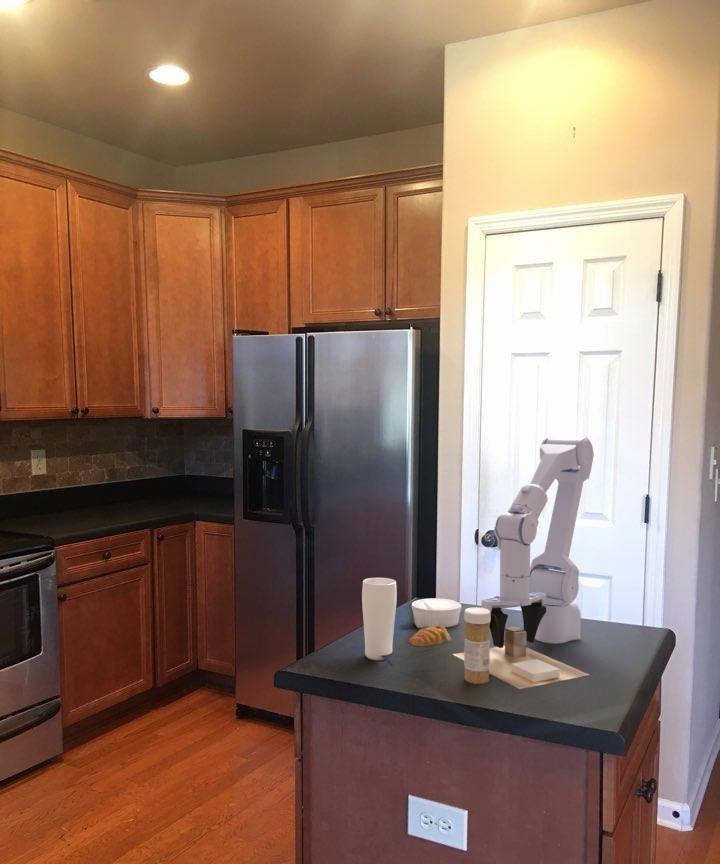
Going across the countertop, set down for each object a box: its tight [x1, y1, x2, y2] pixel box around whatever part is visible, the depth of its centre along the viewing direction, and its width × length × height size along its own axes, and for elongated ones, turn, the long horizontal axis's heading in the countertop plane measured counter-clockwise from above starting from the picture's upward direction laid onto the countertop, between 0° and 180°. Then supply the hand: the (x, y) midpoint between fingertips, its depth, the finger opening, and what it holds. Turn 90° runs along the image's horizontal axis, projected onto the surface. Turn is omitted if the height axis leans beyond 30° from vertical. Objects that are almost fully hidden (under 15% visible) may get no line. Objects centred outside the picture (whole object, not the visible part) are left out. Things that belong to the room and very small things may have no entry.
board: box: [452, 645, 590, 690], centre depth 133 cm, size 16×20×1 cm
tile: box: [511, 659, 560, 682], centre depth 127 cm, size 6×2×6 cm
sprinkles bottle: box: [463, 607, 491, 685], centre depth 125 cm, size 5×5×14 cm
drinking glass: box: [361, 577, 398, 661], centre depth 140 cm, size 7×7×15 cm
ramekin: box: [411, 597, 462, 629], centre depth 161 cm, size 11×11×5 cm
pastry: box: [408, 625, 452, 647], centre depth 147 cm, size 9×7×4 cm
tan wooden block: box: [504, 626, 527, 658], centre depth 138 cm, size 3×3×5 cm
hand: (513, 643), depth 139 cm, fingers open, 7 cm apart
